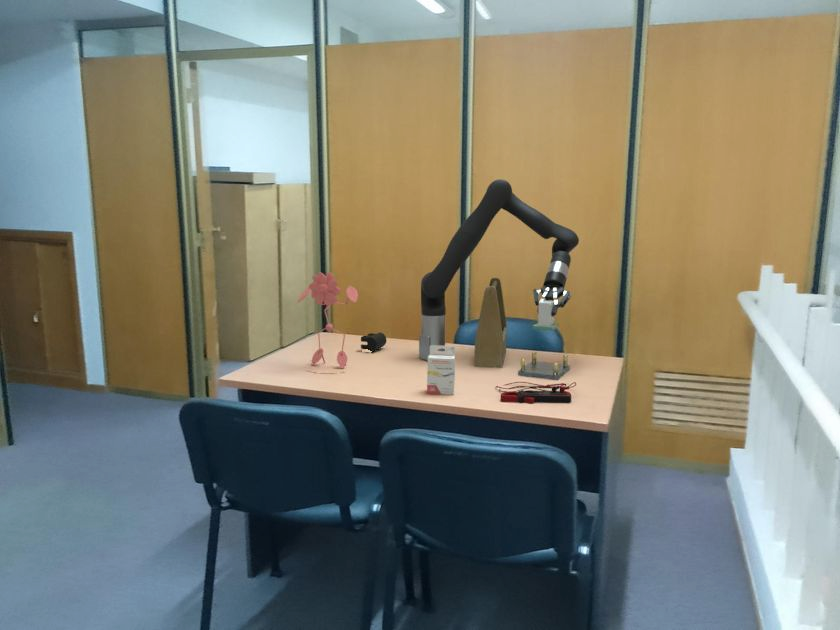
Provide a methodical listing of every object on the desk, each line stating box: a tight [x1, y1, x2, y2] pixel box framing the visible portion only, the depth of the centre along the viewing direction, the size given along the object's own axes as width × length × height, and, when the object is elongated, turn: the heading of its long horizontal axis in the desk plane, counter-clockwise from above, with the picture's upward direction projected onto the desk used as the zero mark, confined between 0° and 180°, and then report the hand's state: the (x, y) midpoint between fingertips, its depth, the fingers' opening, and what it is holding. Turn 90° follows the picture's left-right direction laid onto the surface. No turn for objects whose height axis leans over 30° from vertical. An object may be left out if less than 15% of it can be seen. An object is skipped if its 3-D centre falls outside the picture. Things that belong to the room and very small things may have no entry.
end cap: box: [360, 331, 387, 352], centre depth 271 cm, size 10×7×7 cm
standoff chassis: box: [517, 351, 571, 381], centre depth 237 cm, size 14×17×6 cm
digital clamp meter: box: [495, 381, 577, 404], centre depth 211 cm, size 23×4×25 cm
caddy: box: [474, 277, 508, 369], centre depth 256 cm, size 29×11×30 cm, turn 170°
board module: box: [532, 300, 560, 331], centre depth 234 cm, size 7×9×9 cm
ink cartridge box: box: [426, 345, 456, 395], centre depth 210 cm, size 9×5×15 cm, turn 84°
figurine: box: [296, 271, 359, 375], centre depth 238 cm, size 15×26×35 cm, turn 66°
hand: (546, 314), depth 234 cm, fingers closed on board module, 4 cm apart
